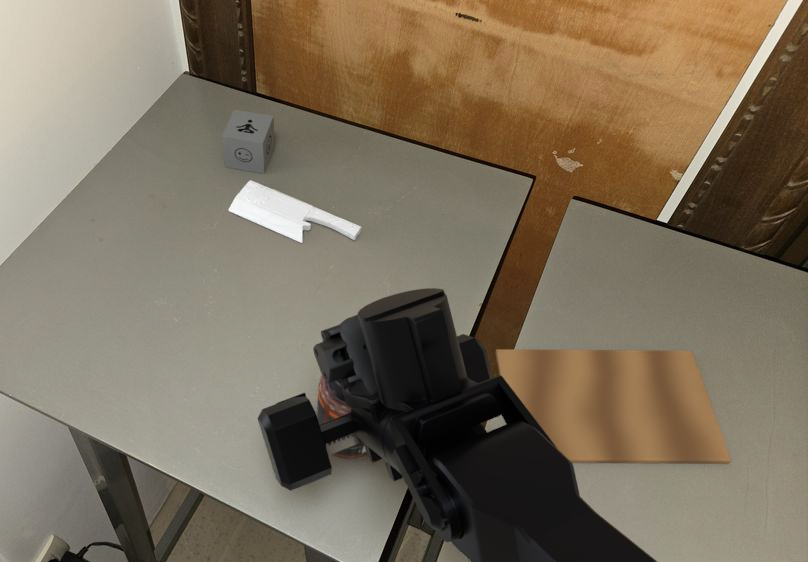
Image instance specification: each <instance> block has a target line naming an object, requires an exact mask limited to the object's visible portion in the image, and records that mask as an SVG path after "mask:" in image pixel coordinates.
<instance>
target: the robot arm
mask: <svg viewBox="0 0 808 562" xmlns="http://www.w3.org/2000/svg"><path fill="white" fill-rule="evenodd" d="M320 335H321V340H322V342H319V343H316V344H315V345H313V348H312V349H313V354H314V357H315V361H316V362H317V366H318V368H319V371H320V373H321V376H323V379H324V380H325V382H326V383H331V382H334V381H337V382H339V384H340V386H341V388H342V391H343V394H344V398H345V401H346V404H347V405H348V406H350V407H351V413H348V414H346V415H343V416H341V417H338V418H335V419H333V420H330V421H328V422H325V423H322V424H320V425H319V422H318V418H317V412H316V410H315V408H314V406H313V404H312V402H311V400H310V399H309V398H308V397H307V394H306V392H301V393H300V394H298V395H294V396H292V397H288V398H286V399H284V400H281V401H279V402H276V403H275V404H272V405H270V406H267V407H263V408H262V409H261V411H260V412H259V414H258V417H257V421H258V424H259V428H260V431H261V435H262V437H263V441H264V444H265V448H266V451H267V454H268V457H269V461H270V464H271V467H272V471H273V474H274V477H275V479H276V481H277V482H278V484H279V485H280V486H281V487H282V488H285V489H286V490H288V491H294V490H296V489H298V488H302V487H303V486H306V485H309V484H311V483H313V482H316V481H319V480H321V479H323V478H325V477H329V476H330V475H332V471H333V466H332V463H331V460H330V456H331V455H333V454H334V453H336V452H339V451H341V450H344V449H346V448H349V447H351V446H354V445H356V444H359V443H361V442H363V443H364V445H365V449H366V452H367V453H366V456H367V460H369V461H371V462H372V463H376V462H378V461H380V460H384V464H385V468H386V472H387V475H388V478H390V479H391V480H392V481H393V482H396V481H397V482H398V481H399V480H402V479H403V481H404V483H405V484H406V487H407V488H408V490H409V492H410V495H411V497H412V499H413V500H414V502H415V504H416V507H417V509H418V510H419V512H420V514H421V517H422V519H423V520H424V522H425V523H426V524H427V526H428V527H430V528H431V529H432V530H433V531H435V532H436V534H437V535H438V536H439V537H440V538H441V540H442V541H445V542H446V543H450V542H451V544H452V545H453V546H454V547H455V548H456V549H457V550H458V551H459V552H460V553H462V555H463V556H465V557H466V558H467V559H468V560H469V561H470V562H658V561H657V559H655V558H654V557H652V555H650V554H649V553H647V552H646V551H645V550H644V549H643V548H641V546H639V545H638V544H636V543H635V542H634V541H633V540H631V538H629V537H628V536H626V535H625V534H624V533H623V532H622V531H620V530H619V529H618V528H617V527H615V526H614V525H612V524H611V523H610V522H609V521H607V520H606V519H605V518H604V517H603V516H601V515H600V514H599V513H598V512H597V511H596V510H594V509H593V508H592V506H590V504H588V502H587V501H586V500H584V499H583V498H582V497H581V495H580V490H579V486H578V481H577V477H576V471H575V466H574V463H572V462H571V461H570V460H569V459H568V458H567V457H566V456H564V455H563V454H562V453H561V452H560V451H559V450H558V449H557V447H556V446H555V445H554V443H553V442H552V441H551V439H550V438H549V437H548V435H547V434H546V433H545V431H544V430H543V429H542V428H541V426H540V425H539V424H538V422H537V421H536V420H535V418H534V417H533V416H532V414H531V413H530V412H529V411H528V409H527V408H526V407H525V405H524V404H523V403H522V401H521V400H520V399H519V398H518V396H517V395H516V394H515V392H514V391H513V390H512V388H511V387H510V386H509V384H508V383H507V382H506V381H505V379H504V378H503V377H502V376H501V375H499V374H498V375H496V376H493V373H492V368H491V365H490V360H489V355H488V352H487V349H486V348H485V346H484V344H483V343H482V341H481V340H479V339H477V338H476V337H473V336H470V335H468V334H465V333H463V334H460V335H457V331H456V327H455V324H454V319H453V314H452V311H451V308H450V303H449V300H448V295H447V294H446V293H445V290H444V289H443V288H436V287H430V288H429V287H428V288H427V287H426V288H418V289H417V288H416V289H413V290H407V291H403V292H398V293H394V294H392V295H387V296H385V297H382V298H380V299H377V300H374V301H372V302H370V303H368V304H367V305H364V306H363V307H362V308H361V309H359V310H358V311H357V314H356V315H353V316H350V317H347V318H346V319H344V320H343V321H342V322H341V323H339V324H337V325H334V326H332V327H329V328H326V329H323V330H321V331H320ZM500 416H501V417H502V419H503V421H504V423H505V424H504V425H502V426H499V427H497V428H494V429H492V430H489V431H487V430H486V428H485V426H484V425H483V423H485V422H489V421H491V420H493V419H495V418H498V417H500ZM352 433H353V435H352ZM347 435H348V437H347ZM342 437H343V439H342ZM337 439H339V440H337ZM333 441H334V442H333ZM328 443H329V444H328Z"/></svg>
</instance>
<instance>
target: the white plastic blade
mask: <svg viewBox="0 0 808 562" xmlns="http://www.w3.org/2000/svg"><path fill="white" fill-rule="evenodd" d="M227 211H228V212H229V213H231V214H233V215H237V216H239V217H241V218H243V219H246V220H248V221H250V222H253V223H255V224H257V225H259V226H262V227H264V228H266V229H268V230H270V231H273V232H275V233H278V234H280V235H282V236H284V237H286V238H288V239H291V240H294V241H295V242H298V243H300V244H303V232H304V231H307V232H308V231H311V230H312V225H311V223H315V224H317V225H321V226H324V227H326V228H330V229H332V230H333V231H336V232H338V233H340V234H341V235H343V236H345V237H347V238H348V239H351V240H353V241H356V239H357V238H358V237H359V235H360V234H361V233H362V226H361V225H358V224H356V223H354V222H351V221H349V220H346V219H344V218H341V217H340V216H336V215H334V214H332V213H330V212H327V211H325V210H323V209H321V208H319V207H316V206H314V205H311V204H309V203H307V202H305V201H302V200H301V199H298V198H295V197H293V196H291V195H288V194H286V193H283V192H282V191H280V190H276V189H274V188H270V187H268V186H266V185H263V184H261V183H259V182H257V181H253V180H251V179H249V181H248V182H247V183H246V184H245V185H243V187H242V189H240V191H239V192H238V193H237V194H236V196H235V197H234V199H233V201H232V203H231V205H230V206H229V208H228V210H227ZM308 221H309V222H308Z"/></svg>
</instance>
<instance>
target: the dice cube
mask: <svg viewBox="0 0 808 562" xmlns="http://www.w3.org/2000/svg"><path fill="white" fill-rule="evenodd" d="M274 117H275V116H274V115H272V114H271V115H270V114H264V113H257V112H252V111H245V110H241V109H239V110H238V109H233V110H232V113H231V115H230V117H229V120H228V122H227V124H226V126H225V128H224V131H223V133H222V135H221V140H222V151H223V159H224V167H225V168H227V169H232V170H239V171H243V172H245V171H246V172H250V173H256V174H262V175H265V174H266V171H267V168H268V166H269V163H270V160H271V158H272V155H273V152H274V150H275V146H276V145H275V120H274V119H275V118H274Z"/></svg>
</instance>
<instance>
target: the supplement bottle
mask: <svg viewBox="0 0 808 562" xmlns="http://www.w3.org/2000/svg"><path fill="white" fill-rule="evenodd" d="M317 390H318V391H317V411H316V415H317V418H318V422H319V425H320V424H322V423H325V422H328V421H330V420H333V419H335V418H338V417H341V416H343V415H346V414H348V413H351V407H350V406H348V405H347V404H346V401H345V398H344V394H343V391H342V388H341V386H340V384H339V382H337V381H334V382H331V383H326V382H325V380H324V379H323V376H322V375H320V379H319V382H318V389H317ZM352 435H353V433H352ZM347 437H348V435H347ZM342 439H343V437H342ZM337 440H339V439H337ZM333 442H334V441H333ZM328 444H329V443H328ZM332 455H334V456H336V457H339V458H342V459H357V458H360V457H363V456H365V455H367V452H366V449H365V445H364V443H363V442H361V443H359V444H356V445H354V446H351V447H349V448H346V449H344V450H341V451H339V452H336V453H334V454H332Z"/></svg>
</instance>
